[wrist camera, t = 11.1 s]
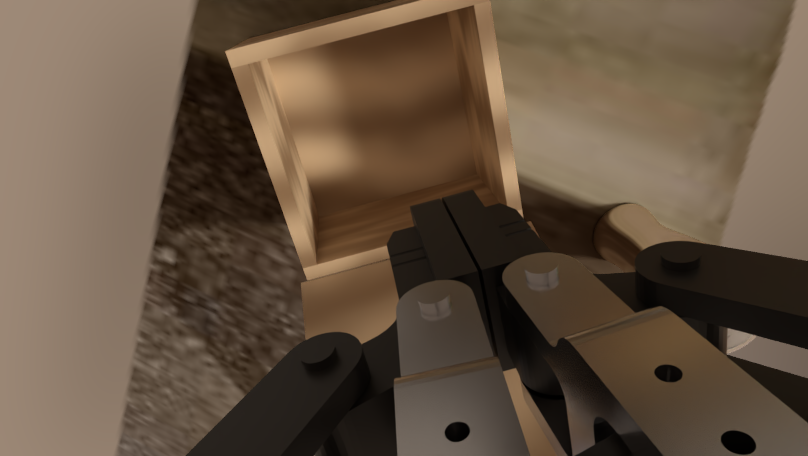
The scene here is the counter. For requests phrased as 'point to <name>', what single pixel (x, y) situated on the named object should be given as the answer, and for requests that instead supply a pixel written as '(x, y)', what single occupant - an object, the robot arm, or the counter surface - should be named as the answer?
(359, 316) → the wooden box lid
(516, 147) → the counter surface
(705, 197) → the counter surface
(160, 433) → the counter surface
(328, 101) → the wooden box
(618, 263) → the beer glass
